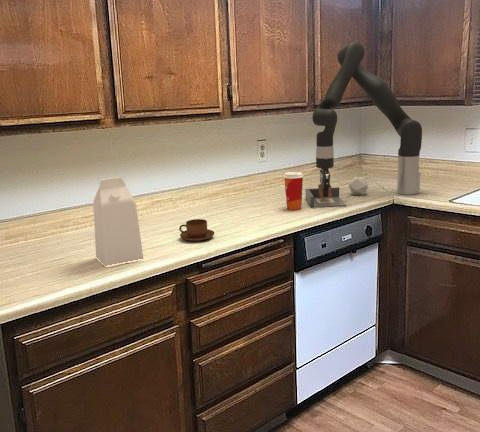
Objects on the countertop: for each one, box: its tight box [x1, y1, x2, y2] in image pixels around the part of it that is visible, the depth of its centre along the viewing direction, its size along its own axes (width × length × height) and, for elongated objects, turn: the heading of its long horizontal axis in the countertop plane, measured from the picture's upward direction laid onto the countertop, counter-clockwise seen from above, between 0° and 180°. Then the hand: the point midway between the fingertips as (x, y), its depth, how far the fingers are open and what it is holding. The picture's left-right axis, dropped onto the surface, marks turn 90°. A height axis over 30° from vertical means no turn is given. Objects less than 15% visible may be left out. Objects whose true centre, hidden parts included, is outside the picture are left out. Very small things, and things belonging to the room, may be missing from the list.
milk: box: [92, 176, 144, 266], centre depth 168 cm, size 12×12×26 cm
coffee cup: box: [283, 171, 304, 211], centre depth 226 cm, size 8×8×15 cm
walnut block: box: [317, 183, 332, 198], centre depth 236 cm, size 5×5×5 cm
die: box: [348, 176, 369, 196], centre depth 249 cm, size 8×9×10 cm
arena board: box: [304, 187, 347, 209], centre depth 236 cm, size 15×18×5 cm
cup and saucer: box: [178, 218, 215, 242], centre depth 190 cm, size 12×12×6 cm
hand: (324, 195), depth 236 cm, fingers closed on walnut block, 5 cm apart
